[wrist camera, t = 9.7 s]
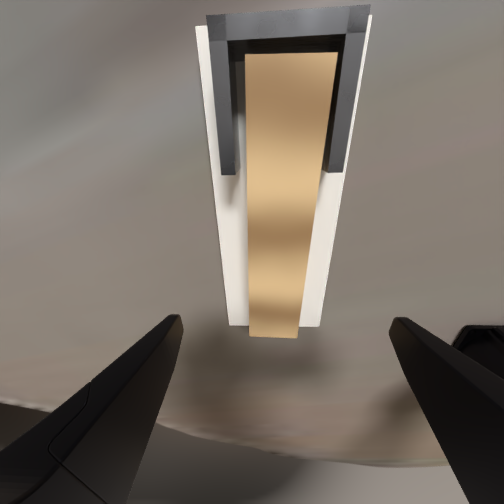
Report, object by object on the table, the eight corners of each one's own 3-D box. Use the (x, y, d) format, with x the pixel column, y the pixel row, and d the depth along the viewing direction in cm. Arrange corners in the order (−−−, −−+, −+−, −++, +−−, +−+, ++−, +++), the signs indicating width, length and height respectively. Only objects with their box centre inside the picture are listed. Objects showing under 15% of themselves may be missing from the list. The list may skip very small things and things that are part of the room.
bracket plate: (316, 317, 22) (326, 353, 19) (230, 316, 23) (224, 351, 19) (362, 25, 12) (407, -25, 8) (201, 35, 12) (174, -8, 9)
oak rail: (292, 312, 20) (297, 338, 18) (251, 310, 21) (249, 336, 18) (321, 70, 12) (337, 52, 9) (248, 72, 12) (244, 54, 9)
